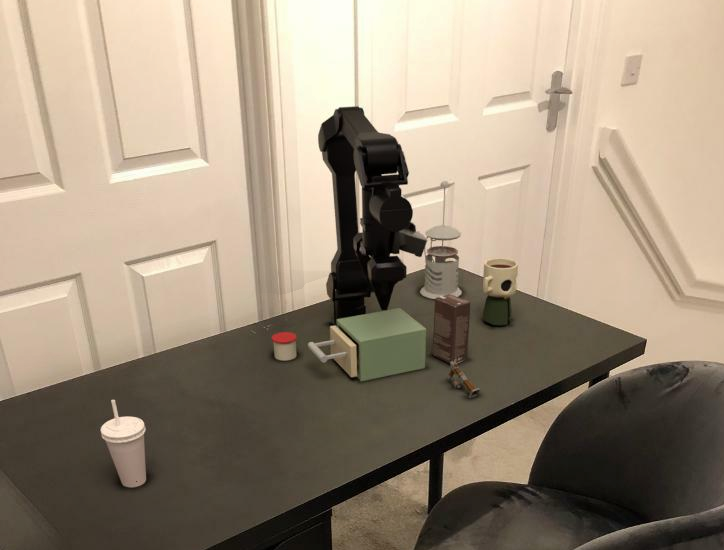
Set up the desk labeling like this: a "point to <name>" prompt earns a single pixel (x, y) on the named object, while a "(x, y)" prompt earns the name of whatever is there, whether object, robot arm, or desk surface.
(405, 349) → the green drawer cabinet
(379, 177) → the robot arm
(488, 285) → the character mug
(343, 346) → the pod drawer
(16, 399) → the desk surface
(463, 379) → the wooden post with brackets
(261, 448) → the desk surface
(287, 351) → the cylinder
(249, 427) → the desk surface
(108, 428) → the smoothie
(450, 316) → the box
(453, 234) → the french press
